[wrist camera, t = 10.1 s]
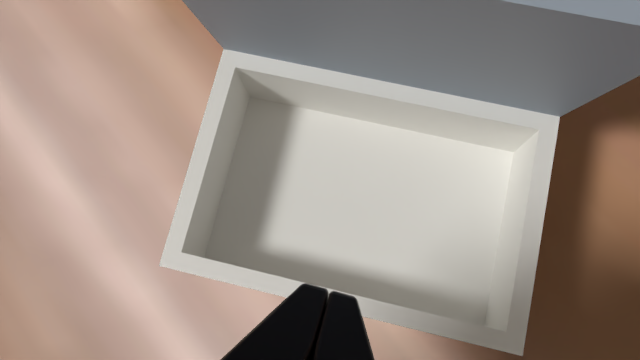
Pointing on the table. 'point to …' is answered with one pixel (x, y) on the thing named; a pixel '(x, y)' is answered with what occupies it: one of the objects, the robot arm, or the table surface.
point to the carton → (368, 197)
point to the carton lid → (447, 44)
